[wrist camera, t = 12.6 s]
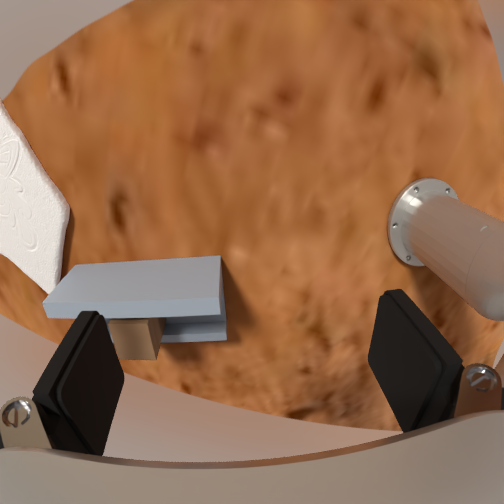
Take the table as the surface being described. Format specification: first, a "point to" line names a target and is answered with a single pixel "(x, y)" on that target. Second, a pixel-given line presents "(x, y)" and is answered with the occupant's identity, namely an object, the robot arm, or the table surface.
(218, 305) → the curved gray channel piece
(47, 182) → the flat white fragment
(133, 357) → the brown block
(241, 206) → the table surface
